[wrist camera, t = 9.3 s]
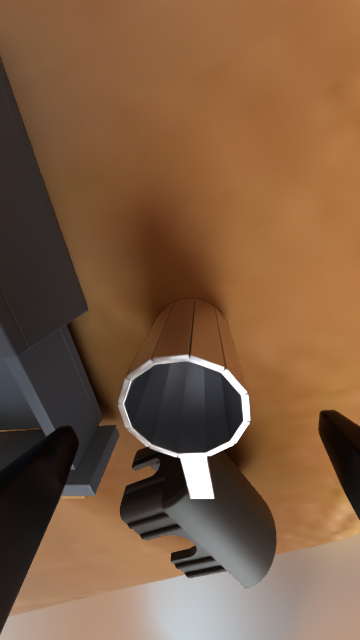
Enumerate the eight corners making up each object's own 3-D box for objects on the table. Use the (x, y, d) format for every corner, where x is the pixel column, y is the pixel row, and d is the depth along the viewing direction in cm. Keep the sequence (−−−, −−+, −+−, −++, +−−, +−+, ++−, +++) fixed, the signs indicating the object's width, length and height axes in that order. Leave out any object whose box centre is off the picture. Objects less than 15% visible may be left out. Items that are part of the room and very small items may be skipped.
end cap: (262, 473, 20) (291, 583, 14) (198, 493, 22) (197, 597, 16) (205, 399, 17) (207, 493, 11) (138, 430, 19) (108, 524, 13)
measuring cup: (234, 393, 17) (257, 499, 10) (170, 398, 18) (151, 500, 11) (224, 293, 14) (245, 347, 7) (147, 304, 15) (102, 363, 8)
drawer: (130, 463, 20) (110, 528, 15) (12, 467, 22) (-35, 525, 17) (62, 284, 14) (-1, 306, 9) (-92, 310, 16) (-204, 339, 11)
